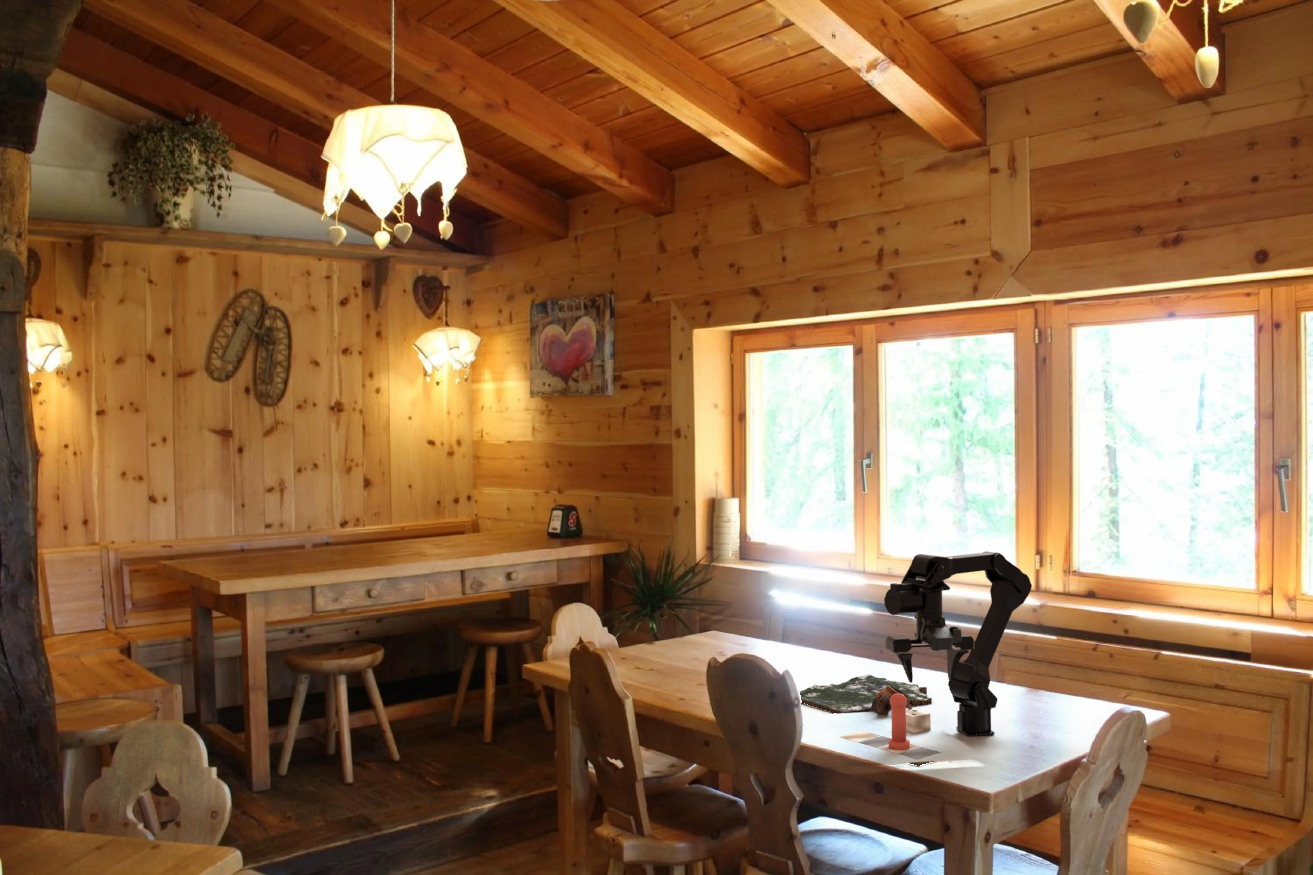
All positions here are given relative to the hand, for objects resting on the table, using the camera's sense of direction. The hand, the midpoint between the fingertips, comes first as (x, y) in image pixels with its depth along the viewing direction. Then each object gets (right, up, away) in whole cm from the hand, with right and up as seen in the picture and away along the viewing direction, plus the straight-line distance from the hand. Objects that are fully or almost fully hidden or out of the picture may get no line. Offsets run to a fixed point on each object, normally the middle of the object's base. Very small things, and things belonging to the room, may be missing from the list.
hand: (930, 681), depth 231 cm
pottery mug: (-5, -14, +20) cm, 25 cm away
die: (-2, -13, +5) cm, 14 cm away
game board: (-11, -13, -8) cm, 19 cm away
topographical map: (-7, -14, +38) cm, 41 cm away
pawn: (-9, -12, -10) cm, 18 cm away
